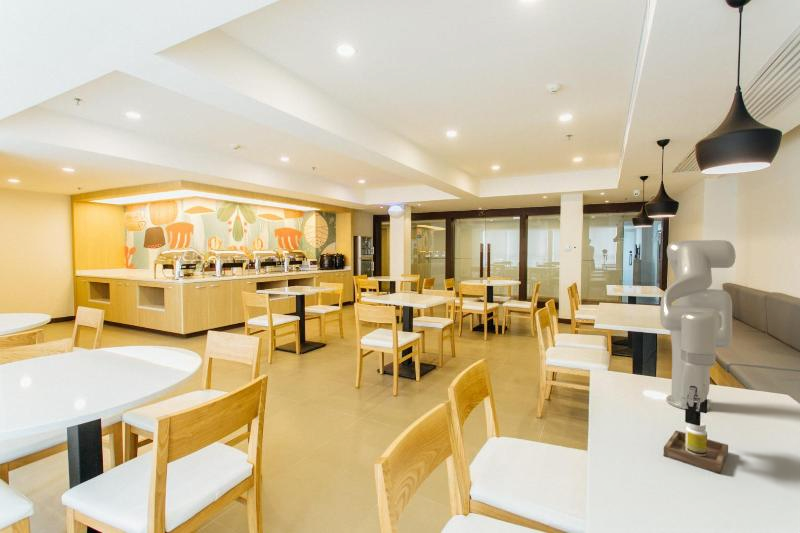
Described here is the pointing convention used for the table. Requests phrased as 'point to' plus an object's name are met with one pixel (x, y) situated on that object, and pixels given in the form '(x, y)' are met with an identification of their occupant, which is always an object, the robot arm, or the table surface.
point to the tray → (709, 462)
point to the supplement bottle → (696, 439)
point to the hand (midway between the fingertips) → (696, 417)
